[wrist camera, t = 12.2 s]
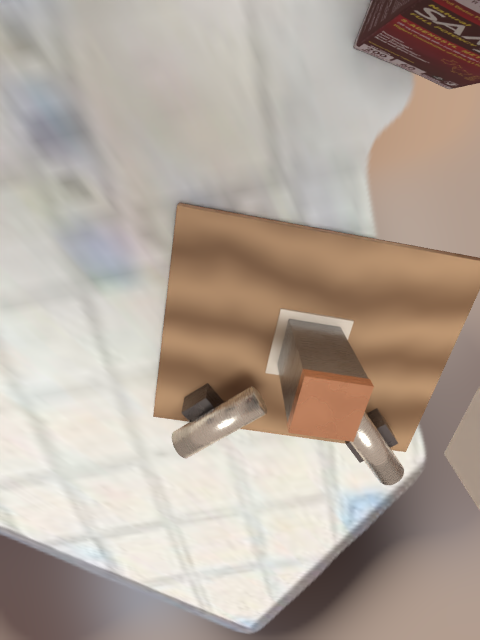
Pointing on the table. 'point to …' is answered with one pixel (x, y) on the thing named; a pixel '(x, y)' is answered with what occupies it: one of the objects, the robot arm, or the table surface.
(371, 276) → the cradle board
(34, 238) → the table surface
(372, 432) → the shaft
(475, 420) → the robot arm
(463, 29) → the supplement box
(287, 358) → the block
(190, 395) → the shaft
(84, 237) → the table surface
